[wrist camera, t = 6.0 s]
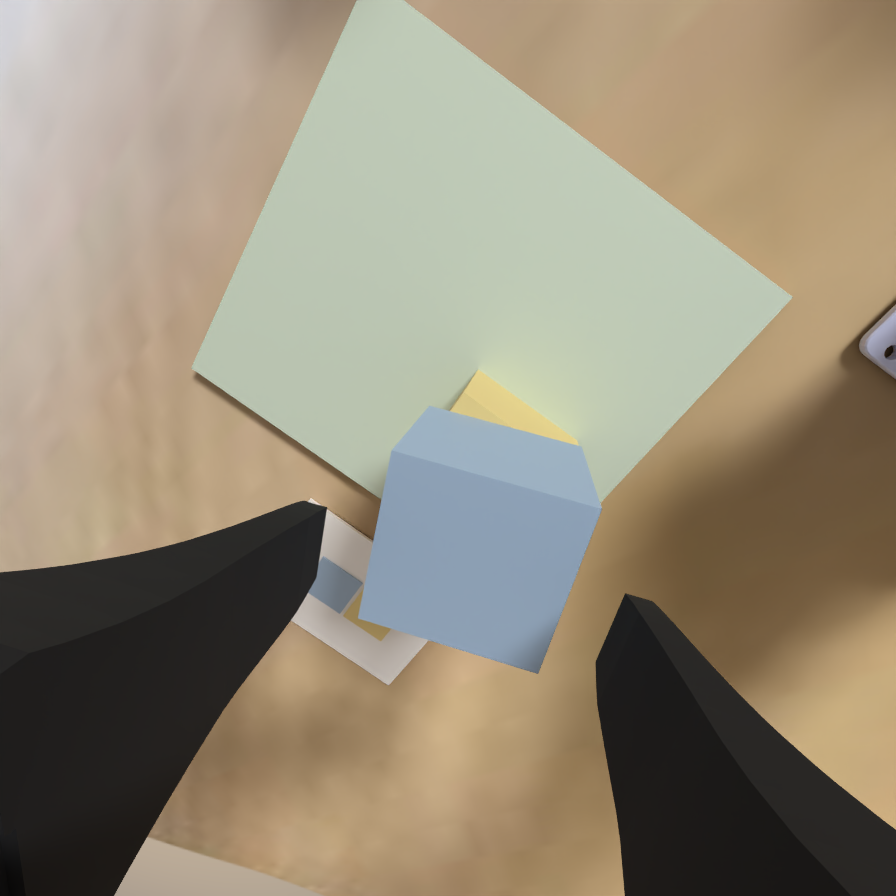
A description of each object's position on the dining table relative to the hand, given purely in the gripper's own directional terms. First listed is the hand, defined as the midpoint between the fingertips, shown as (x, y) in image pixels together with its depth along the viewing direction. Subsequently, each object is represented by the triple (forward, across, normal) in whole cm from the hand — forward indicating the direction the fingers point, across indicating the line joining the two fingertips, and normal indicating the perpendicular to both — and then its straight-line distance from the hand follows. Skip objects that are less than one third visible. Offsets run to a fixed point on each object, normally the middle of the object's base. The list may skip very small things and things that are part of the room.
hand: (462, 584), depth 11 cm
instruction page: (+10, +5, +10) cm, 15 cm away
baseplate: (+10, +3, -4) cm, 11 cm away
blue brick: (+5, 0, 0) cm, 5 cm away
